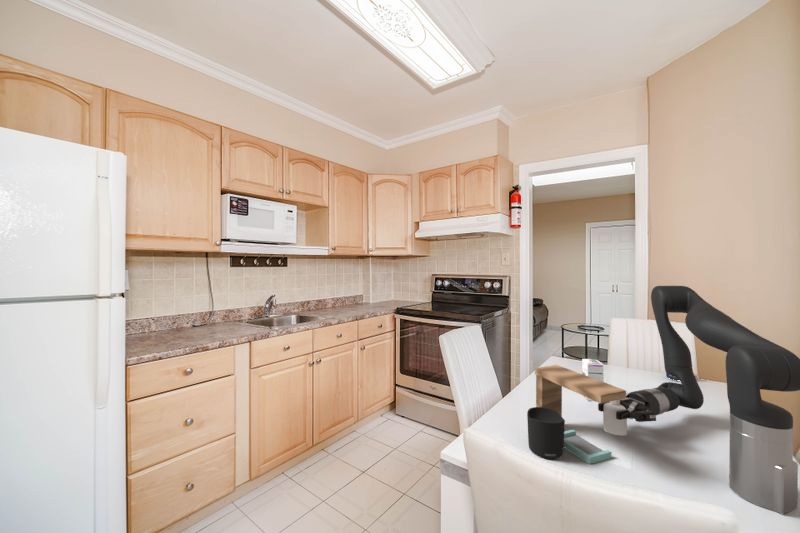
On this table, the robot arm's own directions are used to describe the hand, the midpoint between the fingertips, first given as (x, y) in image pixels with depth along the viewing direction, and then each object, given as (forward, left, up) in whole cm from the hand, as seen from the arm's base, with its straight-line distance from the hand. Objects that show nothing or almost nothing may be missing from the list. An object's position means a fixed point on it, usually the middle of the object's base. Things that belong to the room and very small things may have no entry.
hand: (608, 411), depth 91 cm
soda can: (+25, -77, -9) cm, 81 cm away
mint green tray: (0, +10, -9) cm, 13 cm away
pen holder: (+2, +21, -9) cm, 23 cm away
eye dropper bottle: (0, -3, -7) cm, 7 cm away
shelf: (+2, +10, -9) cm, 14 cm away
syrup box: (+23, -23, -9) cm, 34 cm away
